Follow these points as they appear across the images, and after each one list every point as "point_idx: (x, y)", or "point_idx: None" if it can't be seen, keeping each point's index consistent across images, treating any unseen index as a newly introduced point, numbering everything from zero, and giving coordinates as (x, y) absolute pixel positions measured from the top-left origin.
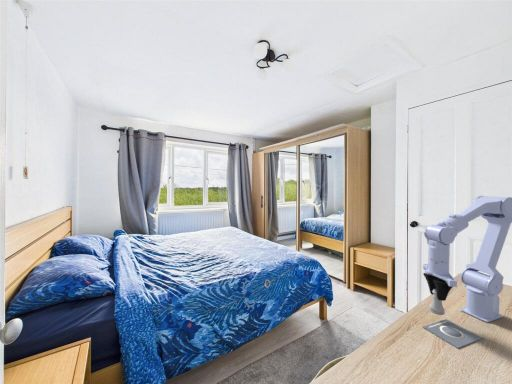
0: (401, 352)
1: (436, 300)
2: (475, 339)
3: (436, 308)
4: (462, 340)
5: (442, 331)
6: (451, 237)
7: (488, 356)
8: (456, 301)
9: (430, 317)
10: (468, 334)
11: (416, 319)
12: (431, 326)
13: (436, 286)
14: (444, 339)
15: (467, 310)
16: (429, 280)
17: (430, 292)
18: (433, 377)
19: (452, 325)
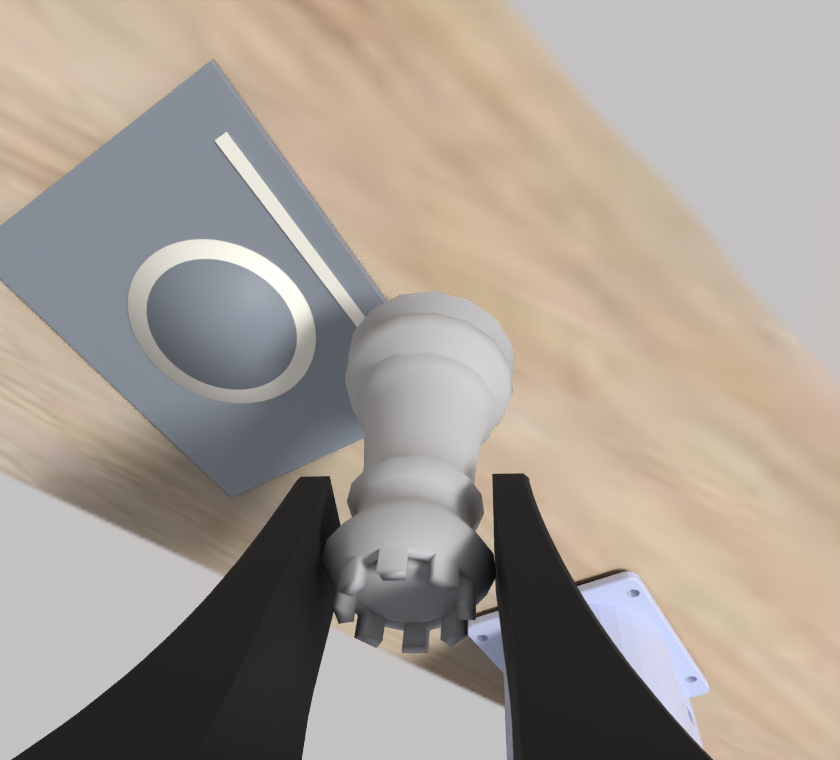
0: None
1: (373, 449)
2: (184, 443)
3: (361, 369)
4: (120, 346)
5: (193, 247)
6: None
7: (7, 409)
8: (786, 616)
9: (472, 265)
10: (239, 435)
11: (390, 63)
12: (250, 176)
13: (185, 682)
14: (47, 194)
15: (602, 608)
16: (518, 713)
17: (519, 485)
18: None
19: (345, 390)
